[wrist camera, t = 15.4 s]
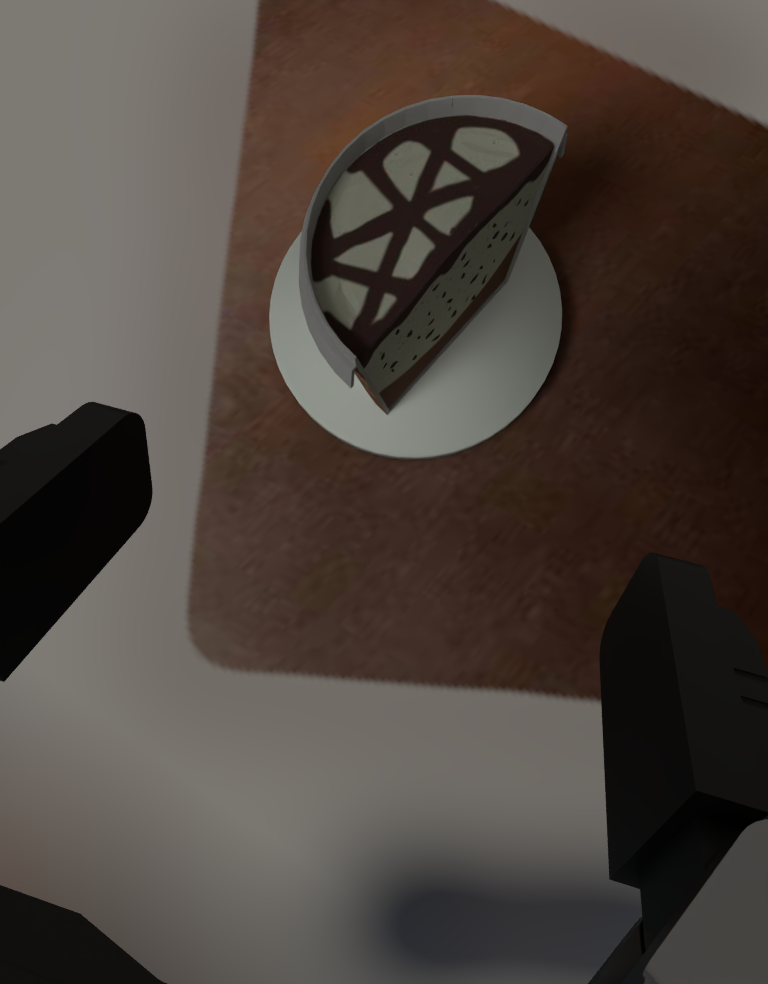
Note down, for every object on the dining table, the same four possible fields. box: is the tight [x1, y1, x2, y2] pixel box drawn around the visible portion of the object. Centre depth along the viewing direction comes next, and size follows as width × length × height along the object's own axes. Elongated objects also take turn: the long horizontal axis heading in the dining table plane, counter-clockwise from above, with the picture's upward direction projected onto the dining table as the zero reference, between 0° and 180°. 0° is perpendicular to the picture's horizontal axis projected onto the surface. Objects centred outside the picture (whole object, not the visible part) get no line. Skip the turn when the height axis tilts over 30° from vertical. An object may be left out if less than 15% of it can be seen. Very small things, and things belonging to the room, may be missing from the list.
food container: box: [299, 95, 568, 415], centre depth 27 cm, size 12×6×10 cm, turn 138°
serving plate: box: [269, 228, 562, 460], centre depth 32 cm, size 15×15×1 cm
